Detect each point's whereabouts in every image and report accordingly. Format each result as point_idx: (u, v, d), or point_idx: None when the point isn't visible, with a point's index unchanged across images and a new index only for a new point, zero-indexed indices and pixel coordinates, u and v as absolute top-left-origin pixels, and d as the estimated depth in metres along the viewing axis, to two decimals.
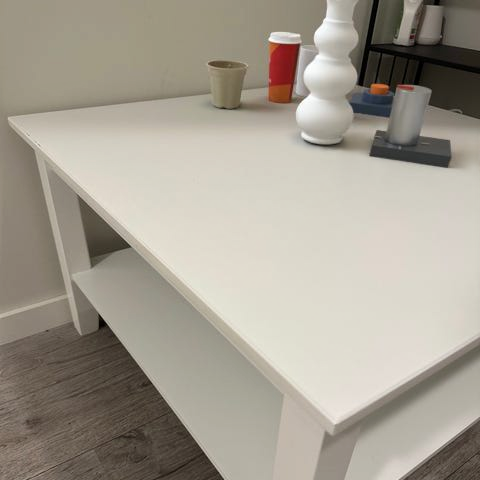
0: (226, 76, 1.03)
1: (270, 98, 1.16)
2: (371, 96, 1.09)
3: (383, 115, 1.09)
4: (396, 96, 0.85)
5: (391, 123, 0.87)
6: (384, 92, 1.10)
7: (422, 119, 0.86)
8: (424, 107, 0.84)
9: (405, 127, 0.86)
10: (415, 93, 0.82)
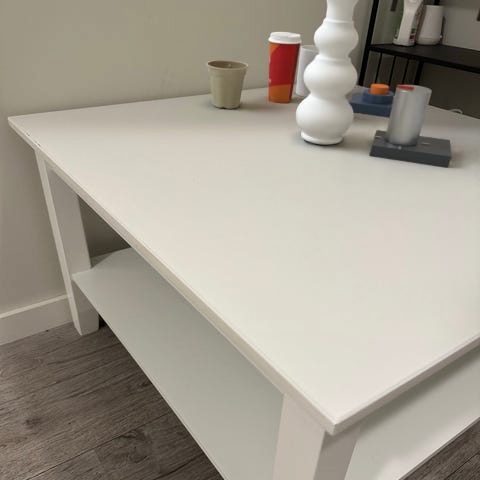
0: (226, 76, 1.03)
1: (270, 98, 1.16)
2: (371, 96, 1.09)
3: (383, 115, 1.09)
4: (396, 96, 0.85)
5: (391, 123, 0.87)
6: (384, 92, 1.10)
7: (422, 119, 0.86)
8: (424, 107, 0.84)
9: (405, 127, 0.86)
10: (415, 93, 0.82)
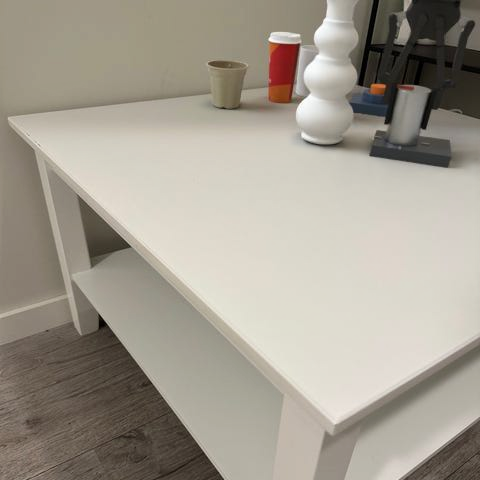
0: (226, 76, 1.03)
1: (270, 98, 1.16)
2: (371, 96, 1.09)
3: (383, 115, 1.09)
4: (396, 96, 0.85)
5: (391, 123, 0.87)
6: None
7: (422, 119, 0.86)
8: (424, 107, 0.84)
9: (405, 127, 0.86)
10: (415, 93, 0.82)
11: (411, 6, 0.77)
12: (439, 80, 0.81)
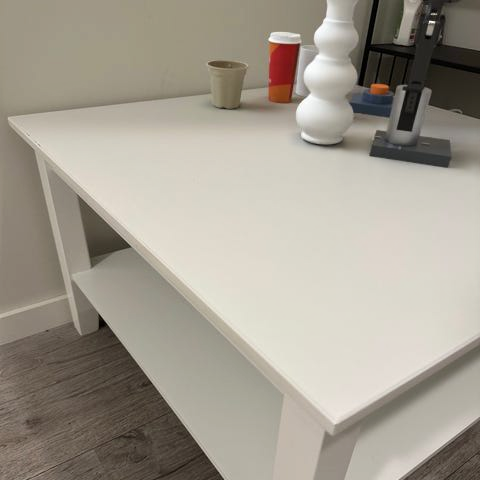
0: (226, 76, 1.03)
1: (270, 98, 1.16)
2: (371, 96, 1.09)
3: (383, 115, 1.09)
4: None
5: (415, 128, 0.86)
6: (384, 92, 1.10)
7: None
8: None
9: None
10: (431, 91, 0.84)
11: (441, 10, 0.74)
12: None
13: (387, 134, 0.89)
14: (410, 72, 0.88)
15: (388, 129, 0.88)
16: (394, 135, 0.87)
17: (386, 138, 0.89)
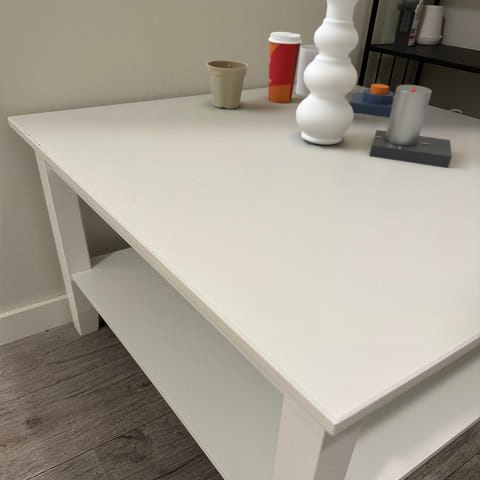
0: (226, 76, 1.03)
1: (270, 98, 1.16)
2: (371, 96, 1.09)
3: (383, 115, 1.09)
4: (419, 101, 0.83)
5: (415, 128, 0.86)
6: (384, 92, 1.10)
7: None
8: None
9: None
10: (431, 91, 0.84)
11: None
12: None
13: (387, 134, 0.89)
14: None
15: (388, 129, 0.88)
16: (394, 135, 0.87)
17: (386, 138, 0.89)
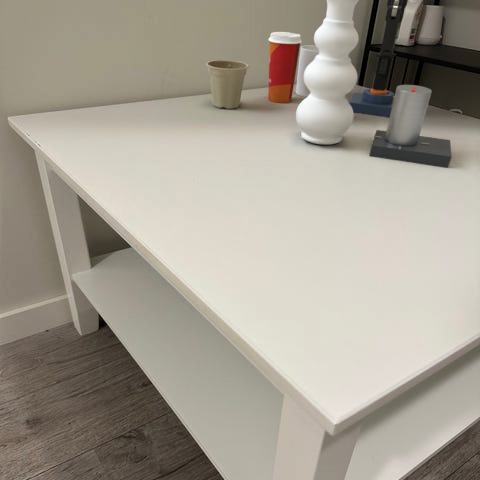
0: (226, 76, 1.03)
1: (270, 98, 1.16)
2: (371, 96, 1.09)
3: (383, 115, 1.09)
4: (419, 101, 0.83)
5: (415, 128, 0.86)
6: None
7: None
8: None
9: None
10: (431, 91, 0.84)
11: None
12: (393, 48, 1.06)
13: (387, 134, 0.89)
14: None
15: (388, 129, 0.88)
16: (394, 135, 0.87)
17: (386, 138, 0.89)
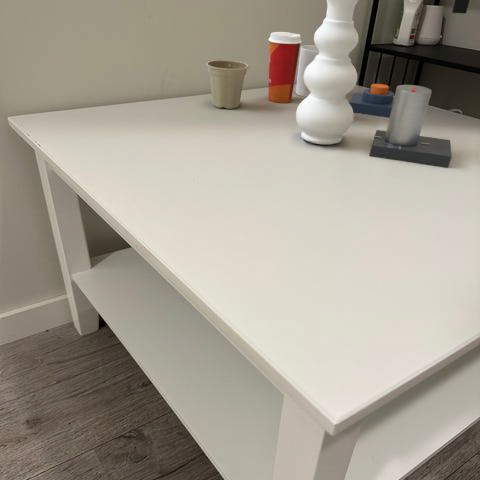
0: (226, 76, 1.03)
1: (270, 98, 1.16)
2: (371, 96, 1.09)
3: (383, 115, 1.09)
4: (419, 101, 0.83)
5: (415, 128, 0.86)
6: (384, 92, 1.10)
7: None
8: None
9: None
10: (431, 91, 0.84)
11: None
12: None
13: (387, 134, 0.89)
14: None
15: (388, 129, 0.88)
16: (394, 135, 0.87)
17: (386, 138, 0.89)
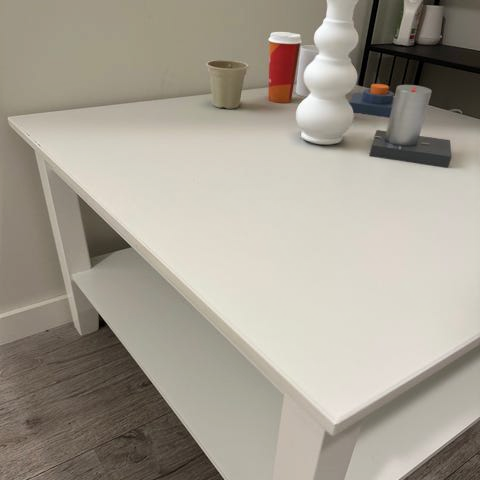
0: (226, 76, 1.03)
1: (270, 98, 1.16)
2: (371, 96, 1.09)
3: (383, 115, 1.09)
4: (419, 101, 0.83)
5: (415, 128, 0.86)
6: (384, 92, 1.10)
7: None
8: None
9: None
10: (431, 91, 0.84)
11: None
12: None
13: (387, 134, 0.89)
14: None
15: (388, 129, 0.88)
16: (394, 135, 0.87)
17: (386, 138, 0.89)
